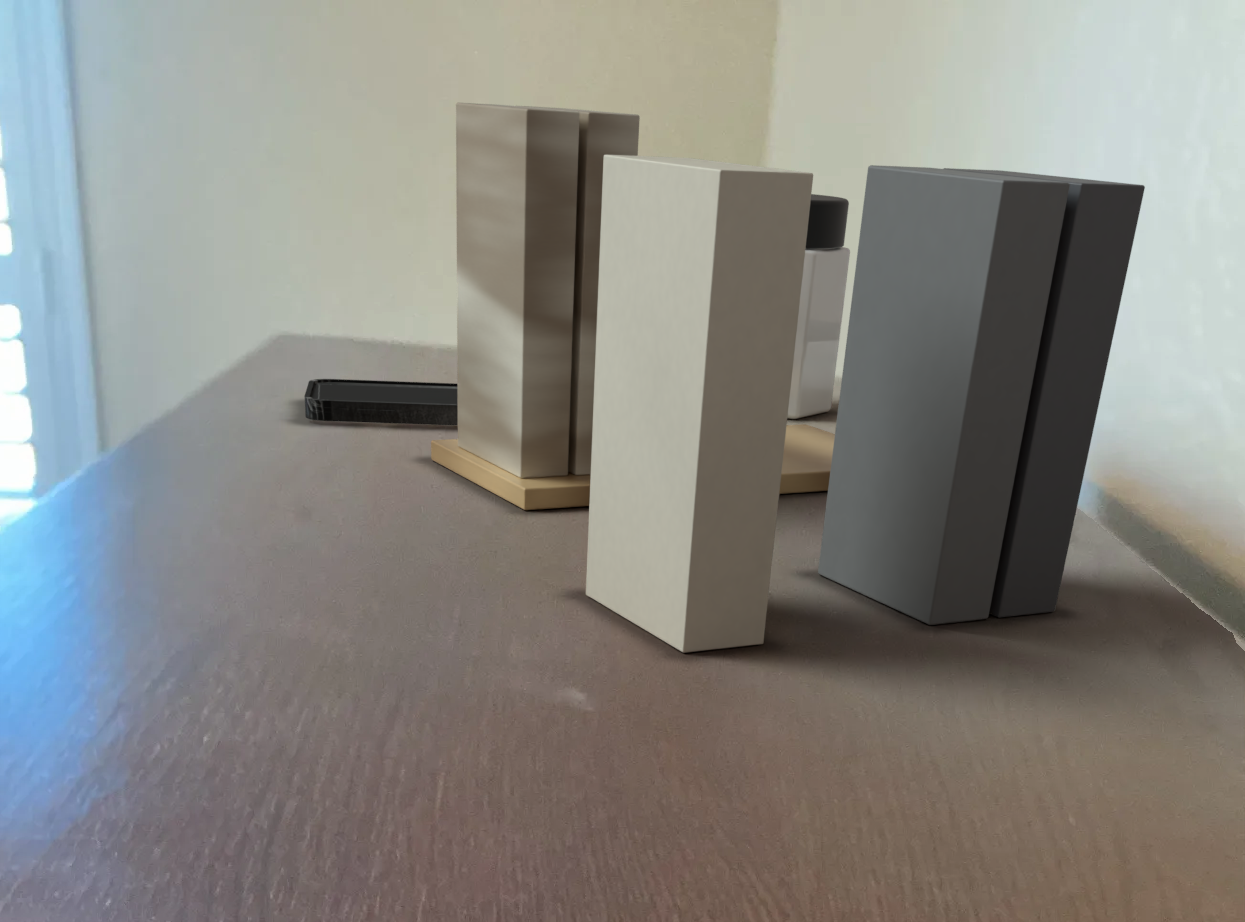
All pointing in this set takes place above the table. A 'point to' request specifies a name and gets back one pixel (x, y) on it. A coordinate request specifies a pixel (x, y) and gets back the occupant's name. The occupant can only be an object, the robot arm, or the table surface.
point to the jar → (820, 307)
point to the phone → (382, 402)
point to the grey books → (972, 385)
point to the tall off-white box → (692, 392)
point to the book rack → (543, 305)
